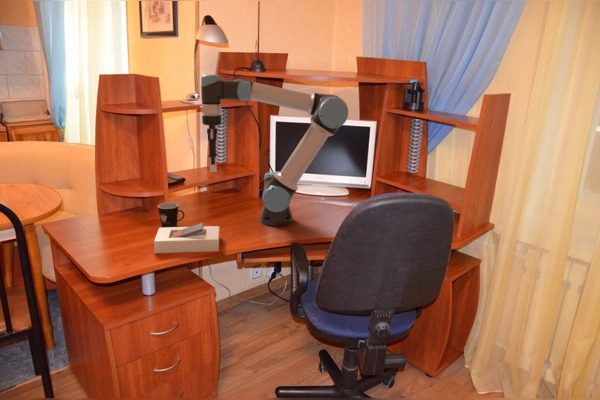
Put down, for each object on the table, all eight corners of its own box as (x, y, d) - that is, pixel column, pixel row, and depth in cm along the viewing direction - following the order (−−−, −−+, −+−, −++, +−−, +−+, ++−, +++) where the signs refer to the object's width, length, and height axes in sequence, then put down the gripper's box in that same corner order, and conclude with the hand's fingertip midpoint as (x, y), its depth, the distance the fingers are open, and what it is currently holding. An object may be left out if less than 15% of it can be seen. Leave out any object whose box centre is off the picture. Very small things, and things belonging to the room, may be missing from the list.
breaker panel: (219, 237, 186) (219, 226, 184) (218, 251, 172) (218, 239, 171) (160, 238, 182) (159, 227, 180) (154, 253, 169) (153, 241, 167)
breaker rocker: (203, 225, 179) (202, 222, 179) (202, 231, 173) (201, 228, 172) (173, 235, 178) (172, 232, 178) (171, 241, 172) (170, 238, 172)
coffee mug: (155, 226, 195) (154, 205, 191) (173, 222, 200) (172, 201, 197) (168, 234, 187) (167, 212, 184) (186, 229, 193) (185, 207, 189)
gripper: (203, 112, 183) (204, 167, 190) (201, 116, 171) (203, 175, 178) (221, 112, 184) (222, 167, 191) (220, 116, 172) (222, 175, 179)
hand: (213, 171), depth 185 cm, fingers closed
